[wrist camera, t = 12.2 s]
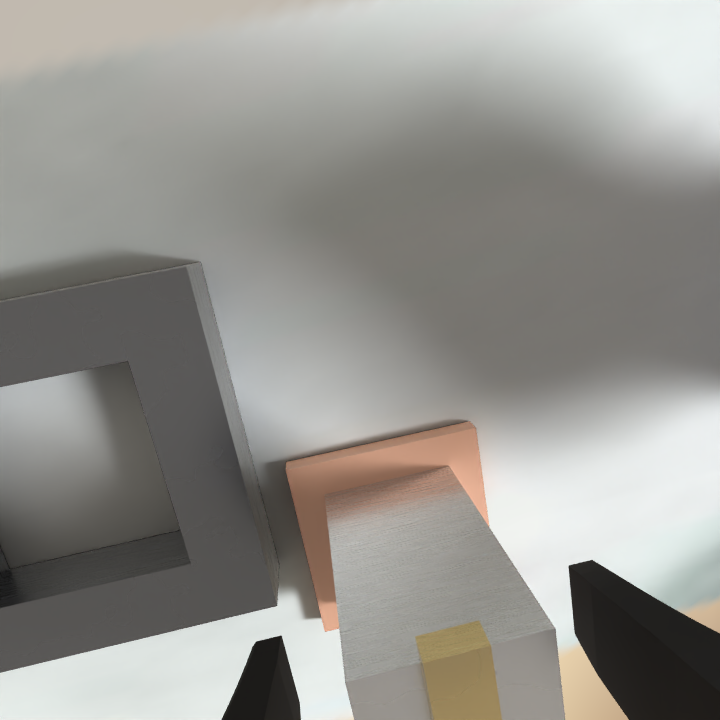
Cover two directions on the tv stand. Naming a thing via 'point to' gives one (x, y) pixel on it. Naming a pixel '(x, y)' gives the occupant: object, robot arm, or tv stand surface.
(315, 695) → the tv stand surface
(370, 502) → the steel key
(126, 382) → the tv stand surface
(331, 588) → the terracotta pad
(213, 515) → the charcoal socket
